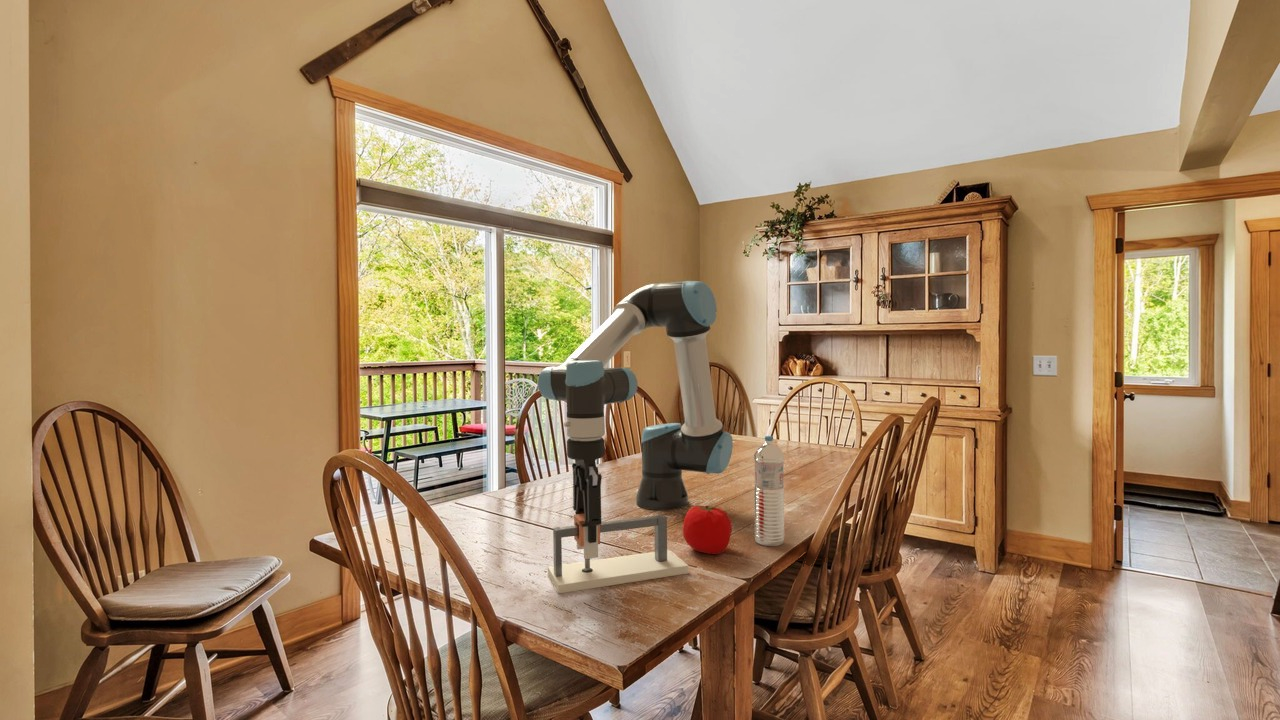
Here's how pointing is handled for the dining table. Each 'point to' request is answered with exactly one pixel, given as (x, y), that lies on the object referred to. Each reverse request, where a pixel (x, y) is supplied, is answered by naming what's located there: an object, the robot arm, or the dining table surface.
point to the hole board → (616, 571)
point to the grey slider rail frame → (617, 525)
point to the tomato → (707, 529)
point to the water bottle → (769, 494)
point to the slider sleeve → (579, 539)
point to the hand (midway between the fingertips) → (587, 552)
